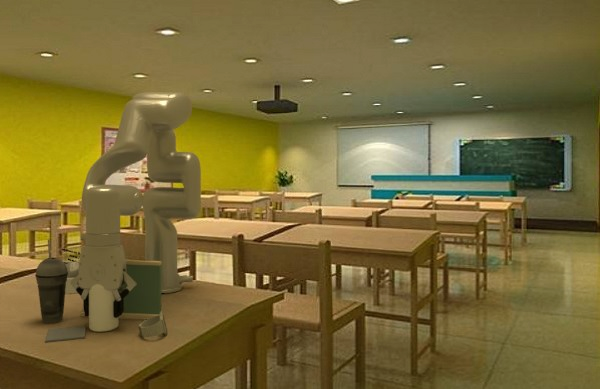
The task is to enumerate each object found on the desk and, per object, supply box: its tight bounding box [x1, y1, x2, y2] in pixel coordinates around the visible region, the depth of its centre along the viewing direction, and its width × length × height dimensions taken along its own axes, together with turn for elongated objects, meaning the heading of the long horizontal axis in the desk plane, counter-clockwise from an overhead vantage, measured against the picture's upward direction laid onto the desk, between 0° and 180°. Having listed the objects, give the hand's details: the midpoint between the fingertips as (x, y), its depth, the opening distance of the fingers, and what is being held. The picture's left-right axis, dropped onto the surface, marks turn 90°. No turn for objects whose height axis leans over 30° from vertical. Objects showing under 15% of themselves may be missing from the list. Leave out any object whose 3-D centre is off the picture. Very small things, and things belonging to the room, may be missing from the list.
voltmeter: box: [61, 248, 81, 278], centre depth 161 cm, size 27×11×10 cm, turn 50°
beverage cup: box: [35, 238, 68, 324], centre depth 123 cm, size 7×7×20 cm
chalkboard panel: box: [80, 259, 164, 320], centre depth 128 cm, size 20×4×14 cm, turn 85°
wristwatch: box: [138, 312, 168, 338], centre depth 115 cm, size 9×6×5 cm
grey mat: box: [44, 325, 87, 343], centre depth 114 cm, size 8×8×1 cm
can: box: [88, 284, 120, 333], centre depth 118 cm, size 6×6×12 cm
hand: (103, 314), depth 118 cm, fingers closed on can, 6 cm apart
